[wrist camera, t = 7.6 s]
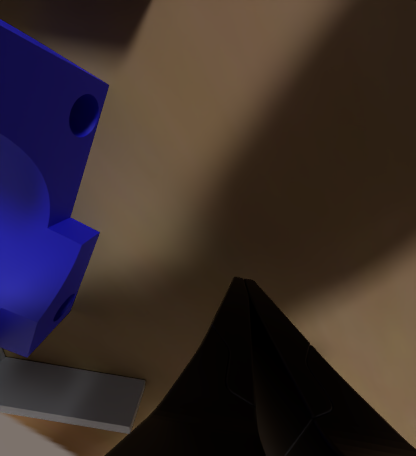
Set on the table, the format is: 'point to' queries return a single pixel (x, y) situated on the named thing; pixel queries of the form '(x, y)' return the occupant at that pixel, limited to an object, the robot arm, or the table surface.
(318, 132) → the table surface
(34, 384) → the bracket
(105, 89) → the blue cradle mount
